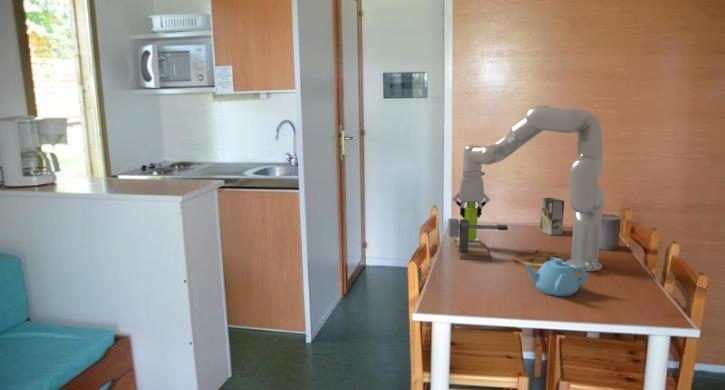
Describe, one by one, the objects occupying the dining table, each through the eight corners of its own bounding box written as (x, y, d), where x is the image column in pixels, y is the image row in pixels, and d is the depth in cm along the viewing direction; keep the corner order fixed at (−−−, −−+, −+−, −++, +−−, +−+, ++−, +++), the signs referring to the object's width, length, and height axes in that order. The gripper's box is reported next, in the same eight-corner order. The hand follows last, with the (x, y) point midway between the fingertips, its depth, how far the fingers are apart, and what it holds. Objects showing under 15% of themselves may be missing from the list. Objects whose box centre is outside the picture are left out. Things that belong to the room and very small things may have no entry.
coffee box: (562, 234, 251) (565, 200, 248) (551, 235, 249) (553, 201, 246) (550, 229, 259) (552, 197, 256) (539, 230, 258) (541, 197, 255)
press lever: (507, 237, 212) (508, 223, 211) (449, 236, 213) (450, 222, 212) (504, 234, 218) (505, 219, 217) (448, 233, 219) (448, 218, 218)
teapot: (560, 302, 169) (563, 269, 167) (522, 288, 182) (524, 257, 180) (589, 292, 178) (592, 261, 176) (551, 279, 190) (553, 250, 188)
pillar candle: (613, 244, 234) (616, 211, 231) (621, 251, 224) (624, 216, 222) (590, 244, 235) (592, 210, 232) (597, 250, 225) (600, 215, 223)
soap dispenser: (479, 240, 226) (482, 193, 223) (463, 240, 226) (466, 193, 223) (477, 237, 232) (480, 191, 229) (461, 236, 232) (463, 191, 229)
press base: (490, 259, 212) (492, 224, 209) (459, 259, 213) (461, 223, 210) (480, 243, 236) (482, 210, 233) (453, 242, 236) (454, 210, 234)
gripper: (491, 173, 228) (489, 215, 231) (450, 173, 229) (449, 214, 232) (494, 176, 220) (492, 219, 223) (452, 175, 221) (450, 218, 224)
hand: (470, 216), depth 228 cm, fingers closed on soap dispenser, 6 cm apart
